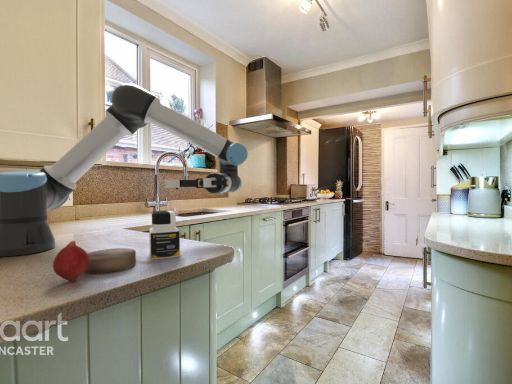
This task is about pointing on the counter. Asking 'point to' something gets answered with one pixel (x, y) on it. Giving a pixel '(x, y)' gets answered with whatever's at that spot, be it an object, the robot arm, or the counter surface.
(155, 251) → the medicine bottle
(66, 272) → the onion
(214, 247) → the counter surface
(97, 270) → the walnut stand
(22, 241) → the robot arm
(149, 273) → the counter surface
